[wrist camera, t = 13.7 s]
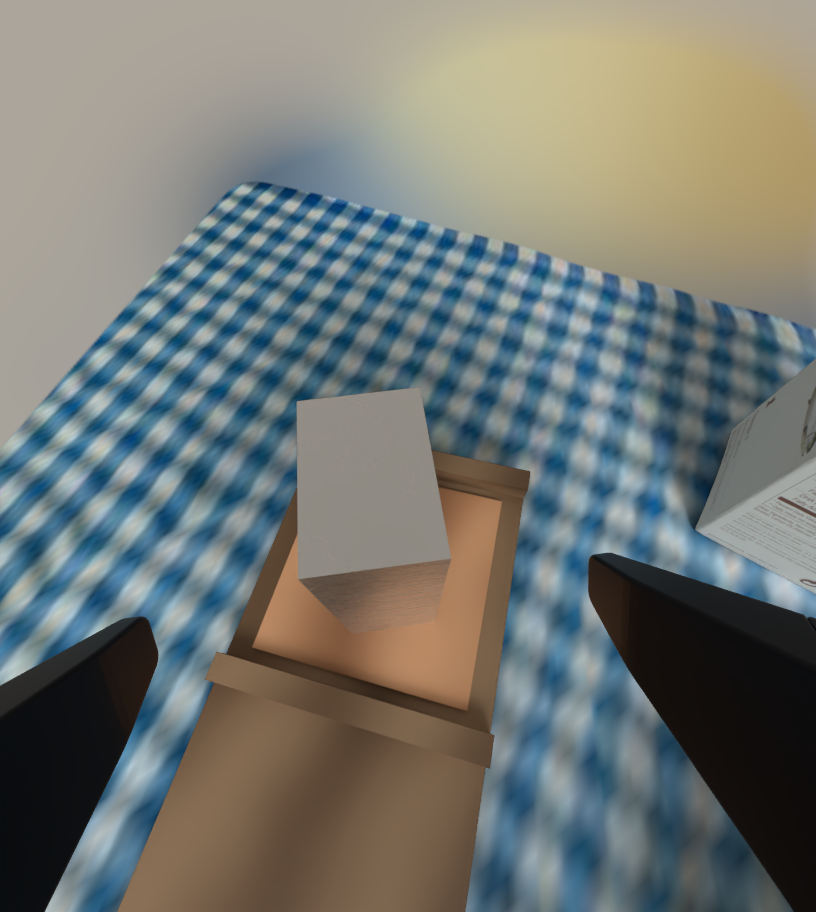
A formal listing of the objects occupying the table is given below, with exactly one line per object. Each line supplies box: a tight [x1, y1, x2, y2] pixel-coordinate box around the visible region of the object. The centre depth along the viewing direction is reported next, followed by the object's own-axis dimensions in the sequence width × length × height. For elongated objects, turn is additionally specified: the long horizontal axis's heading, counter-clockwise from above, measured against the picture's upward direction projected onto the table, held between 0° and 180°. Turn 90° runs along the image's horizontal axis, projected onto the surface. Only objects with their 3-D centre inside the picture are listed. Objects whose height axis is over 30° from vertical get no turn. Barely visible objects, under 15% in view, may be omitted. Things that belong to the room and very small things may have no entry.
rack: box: [118, 450, 530, 912], centre depth 14 cm, size 11×34×2 cm, turn 165°
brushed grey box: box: [297, 387, 451, 634], centre depth 15 cm, size 5×4×10 cm
